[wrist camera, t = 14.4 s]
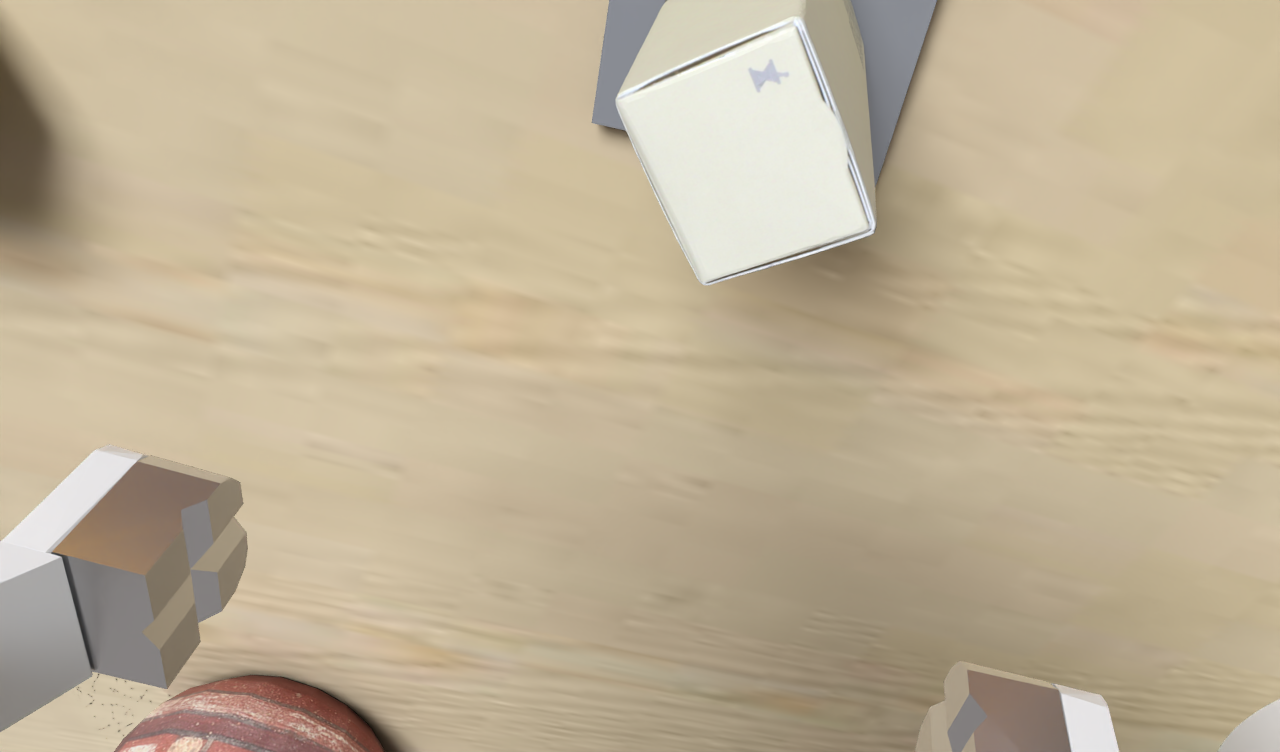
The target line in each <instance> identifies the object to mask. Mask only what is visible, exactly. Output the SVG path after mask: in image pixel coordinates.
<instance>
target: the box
mask: <svg viewBox="0 0 1280 752" xmlns="http://www.w3.org/2000/svg"><path fill="white" fill-rule="evenodd" d="M616 107H617V110H618V112H619V115H620V117H621V120H622V122H623V124H624V127H625V129H626V132H627V134H628V136H629V138H630V141H631V143H632V145H633V147H634V150H635V152H636V154H637V156H638V158H639V160H640V162H641V165H642V167H643V169H644V171H645V173H646V176H647V178H648V180H649V182H650V184H651V187H652V189H653V191H654V193H655V196H656V198H657V200H658V202H659V204H660V206H661V208H662V210H663V212H664V214H665V216H666V218H667V220H668V222H669V224H670V226H671V228H672V230H673V232H674V234H675V236H676V239H677V241H678V242H679V244H680V246H681V248H682V250H683V252H684V254H685V256H686V258H687V260H688V262H689V263H690V265H691V267H692V269H693V271H694V273H695V275H696V277H697V279H698V280H699V282H700V283H701V284H703V285H711V284H715V283H718V282H721V281H724V280H727V279H730V278H734V277H737V276H741V275H744V274H748V273H752V272H755V271H759V270H763V269H767V268H769V267H772V266H775V265H779V264H783V263H786V262H790V261H793V260H796V259H800V258H803V257H806V256H809V255H812V254H816V253H819V252H822V251H825V250H828V249H831V248H834V247H837V246H840V245H843V244H847V243H850V242H853V241H856V240H858V239H862V238H865V237H868V236H871V235H872V234H873V233H875V229H876V224H877V218H876V195H875V183H874V169H873V157H872V145H871V132H870V118H869V107H868V95H867V82H866V68H865V54H864V44H863V40H862V37H861V33H860V29H859V26H858V23H857V19H856V16H855V12H854V9H853V6H852V3H851V0H665V3H664V4H663V6H662V7H661V9H660V11H659V13H658V15H657V18H656V20H655V21H654V23H653V25H652V27H651V29H650V31H649V33H648V35H647V37H646V39H645V41H644V43H643V45H642V47H641V49H640V51H639V53H638V54H637V56H636V59H635V61H634V63H633V65H632V67H631V68H630V71H629V73H628V75H627V76H626V78H625V80H624V82H623V85H622V86H621V88H620V91H619V93H618V94H617V97H616Z"/></svg>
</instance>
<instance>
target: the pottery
mask: <svg viewBox="0 0 1280 752" xmlns="http://www.w3.org/2000/svg"><path fill="white" fill-rule="evenodd" d="M114 752H385V751H384V749H383V747H382V745H381V744H380V742H379V740H378V739H377V737H376V735H375V734H374V732H373V730H372V729H371V727H370V726H369V725H368V724H367V723H366V722H364V721H363V720H362V719H361V718H360V717H359V716H358V715H357V714H356V713H355V712H353V711H352V710H351V709H350V708H349V707H348V706H347V705H345V704H344V703H342V702H340V701H338V700H337V699H335V698H333V697H331V696H330V695H328V694H326V693H324V692H322V691H321V690H319V689H317V688H314V687H311V686H308V685H305V684H302V683H298V682H295V681H292V680H289V679H286V678H283V677H273V676H258V675H248V676H243V677H237V678H231V679H225V680H221V681H217V682H213V683H209V684H205V685H201V686H197V687H193V688H190V689H188V690H186V691H184V692H182V693H180V694H179V695H177V696H175V697H173V698H171V699H169V700H167V701H165V702H164V703H162V704H160V705H159V706H158V707H157V708H156V709H155V710H153V711H152V712H151V713H150V714H149V715H148V716H147V717H145V718H144V719H143V720H142V721H141V722H140V723H139V724H138V725H137V726H136V727H135V728H134V729H133V730H132V731H131V732H130V733H129V734H128V735H127V736H126V737H125V738H124V739H123V740H122V742H121V743H120V744H119V746H118V747H117V748H116V750H115V751H114Z"/></svg>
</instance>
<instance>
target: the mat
mask: <svg viewBox="0 0 1280 752" xmlns="http://www.w3.org/2000/svg"><path fill="white" fill-rule="evenodd" d="M936 2H937V0H851V3H852V6H853V9H854V12H855V16H856V19H857V23H858V26H859V29H860V33H861V37H862V40H863V44H864V54H865V68H866V82H867V95H868V107H869V118H870V132H871V145H872V157H873V169H874V183H875V187H876V184H877V181H878V178H879V175H880V172H881V169H882V166H883V163H884V160H885V157H886V154H887V150H888V147H889V144H890V141H891V138H892V135H893V132H894V129H895V126H896V123H897V120H898V117H899V114H900V111H901V108H902V105H903V102H904V99H905V96H906V93H907V90H908V87H909V84H910V81H911V78H912V75H913V72H914V69H915V66H916V63H917V60H918V57H919V54H920V51H921V48H922V45H923V41H924V38H925V35H926V32H927V29H928V26H929V23H930V20H931V17H932V14H933V11H934V8H935V5H936ZM664 3H665V0H609V7H608V13H607V20H606V27H605V34H604V41H603V48H602V55H601V62H600V69H599V76H598V83H597V90H596V97H595V104H594V111H593V118H592V123H595V124H599V125H603V126H608V127H612V128H616V129H621V130H625V131H626V129H625V127H624V124H623V122H622V120H621V117H620V115H619V112H618V110H617V107H616V97H617V94H618V93H619V91H620V88H621V86H622V85H623V82H624V80H625V78H626V76H627V75H628V73H629V71H630V68H631V67H632V65H633V63H634V61H635V59H636V56H637V54H638V53H639V51H640V49H641V47H642V45H643V43H644V41H645V39H646V37H647V35H648V33H649V31H650V29H651V27H652V25H653V23H654V21H655V20H656V18H657V15H658V13H659V11H660V9H661V7H662V6H663V4H664Z"/></svg>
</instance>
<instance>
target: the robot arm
mask: <svg viewBox="0 0 1280 752" xmlns="http://www.w3.org/2000/svg"><path fill="white" fill-rule="evenodd" d="M242 505H243V498H242V491H241V485H240V482H239V481H237V480H235V479H233V478H230V477H227V476H223V475H220V474H216V473H212V472H209V471H205V470H202V469H198V468H195V467H191V466H187V465H184V464H180V463H177V462H173V461H170V460H166V459H162V458H159V457H155V456H152V455H146V454H142V453H139V452H135V451H131V450H128V449H124V448H120V447H117V446H113V445H107V446H104V447H102V448H99V449H97V450H95V451H93V452H92V453H91V454H90V455H89V456H88V457H87V458H86V459H85V460H84V461H83V462H82V463H81V464H80V465H79V466H78V467H77V468H76V469H75V470H74V471H73V472H72V473H71V474H69V475H68V476H67V477H66V478H65V479H64V480H63V481H62V482H61V483H60V484H59V485H58V486H57V487H56V488H55V489H54V490H53V491H52V492H51V493H50V494H49V495H48V496H47V497H46V498H45V499H44V500H43V501H42V502H41V503H40V504H39V505H38V506H37V507H36V508H35V509H34V510H33V511H32V512H31V513H30V514H29V515H28V516H26V517H25V518H24V519H23V520H22V521H21V522H20V523H19V524H18V525H17V526H16V527H15V528H14V529H13V530H12V531H11V532H10V533H9V534H8V535H7V536H6V537H5V538H4V539H3V540H2V541H1V540H0V732H1V731H3V730H5V729H6V728H8V727H10V726H11V725H13V724H15V723H16V722H18V721H19V720H21V719H23V718H24V717H26V716H28V715H29V714H31V713H33V712H34V711H36V710H38V709H39V708H41V707H42V706H44V705H46V704H47V703H49V702H51V701H52V700H54V699H56V698H57V697H59V696H61V695H62V694H64V693H65V692H67V691H69V690H70V689H72V688H74V687H75V686H77V685H79V684H80V683H82V682H84V681H85V680H87V679H88V678H90V677H92V675H93V674H92V671H93V672H97V673H101V674H105V675H110V676H114V677H118V678H122V679H126V680H131V681H135V682H139V683H143V684H148V685H152V686H156V687H160V688H165V689H168V687H169V686H170V684H171V683H172V681H173V680H174V679H175V677H176V676H177V674H178V673H179V672H180V670H181V669H182V667H183V666H184V665H185V663H186V662H187V660H188V659H189V657H190V656H191V655H192V653H193V652H194V650H195V649H196V648H197V646H198V645H199V643H200V642H201V641H200V634H199V626H198V623H199V622H201V621H203V620H205V619H207V618H209V617H211V616H213V615H215V614H217V613H219V612H221V611H222V610H223V609H224V607H225V606H226V604H227V603H228V601H229V600H230V598H231V597H232V595H233V594H234V592H235V591H236V588H237V586H238V583H239V581H240V578H241V576H242V573H243V571H244V568H245V564H246V557H247V550H248V545H247V533H246V531H245V530H244V529H243V527H242V526H241V525H240V524H239V522H238V521H237V520H236V519H235V517H234V516H235V514H236V513H237V512H238V510H239V509H240V508H241V506H242ZM944 694H945V700H944V701H942V702H940V703H938V704H935V705H933V706H931V707H930V708H929V710H928V712H927V714H926V716H925V718H924V721H923V723H922V725H921V727H920V731H919V735H918V739H917V744H916V748H915V752H1119V748H1118V744H1117V740H1116V736H1115V732H1114V728H1113V724H1112V720H1111V716H1110V711H1109V707H1108V704H1107V703H1106V701H1105V700H1104V699H1103V697H1102V696H1101V695H1099V694H1095V693H1090V692H1086V691H1082V690H1078V689H1074V688H1070V687H1066V686H1062V685H1058V684H1050V683H1049V682H1047V681H1043V680H1039V679H1035V678H1031V677H1026V676H1022V675H1018V674H1014V673H1010V672H1006V671H1001V670H997V669H993V668H989V667H985V666H981V665H977V664H972V663H968V662H964V661H958V662H957V663H956V664H955V665H953V666H952V667H951V669H950V671H949V673H948V675H947V676H946V678H945V680H944ZM1218 752H1280V699H1278V700H1276V701H1274V702H1272V703H1270V704H1269V705H1267V706H1265V707H1263V708H1262V709H1260V710H1258V711H1257V712H1255V713H1254V714H1252V715H1251V716H1249V717H1248V718H1247V719H1245V720H1244V721H1243V722H1242V723H1241V724H1239V725H1238V726H1237V727H1236V728H1235V729H1234V730H1233V731H1232V732H1231V733H1230V734H1229V735H1228V737H1227V738H1226V739H1225V740H1224V742H1223V743H1222V745H1221V746H1220V748H1219V750H1218Z"/></svg>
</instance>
